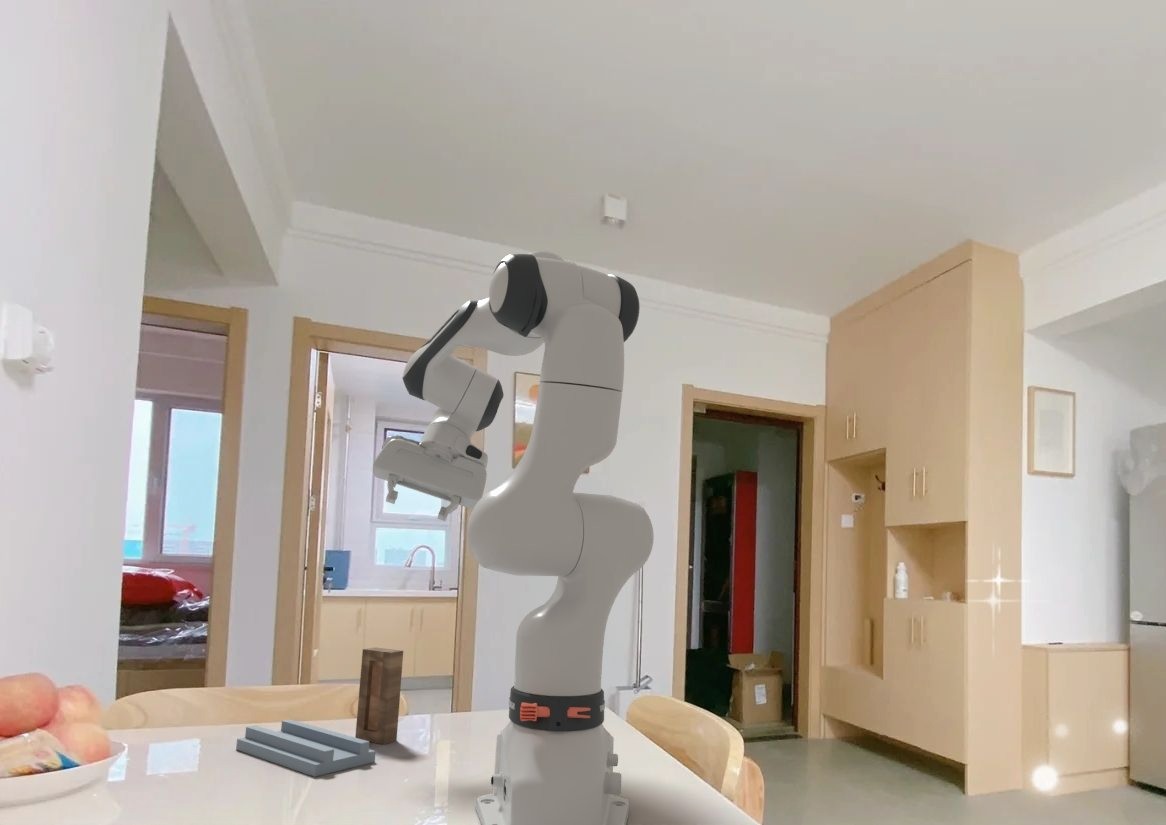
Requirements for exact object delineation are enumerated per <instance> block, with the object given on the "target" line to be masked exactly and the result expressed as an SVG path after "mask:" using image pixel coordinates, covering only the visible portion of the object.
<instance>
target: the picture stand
mask: <svg viewBox="0 0 1166 825" xmlns="http://www.w3.org/2000/svg"><path fill="white" fill-rule="evenodd" d="M235 750H236V751H238V752H242V753H245V754H248V755H251V756H254V757H257V758H259V759H263V760H264V761H269V762H270V763H274V764H277V765H280V766H282V767H286V768H287V769H291V770H293V771H297V772H300V773H303V774H305V775H308V776H311V777H314V778H315V777H319V776H323V775H327V774H332V773H336V772H340V771H343V770H347V769H348V770H349V769H351V768H356V767H360V766H365V765H368V764H372V763H375V762H376V750H373V749H370V742H369V741H366V740H362V739H358V738H355V736H351V735H347V734H345V733H340V732H337V731H334V730H330V729H326V728H323V727H318V726H315V725H311V724H308V723H304V722H301V721H298V720H294V719H284V720H282V721H281V727H280V730H278V731H275V730H272V729H268V728H265V727H262V726H260V725H259V726H258V725H250V726H246V727H245V735H244V737H240V738H237V740H236V747H235Z"/></svg>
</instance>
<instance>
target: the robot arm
mask: <svg viewBox="0 0 1166 825" xmlns="http://www.w3.org/2000/svg"><path fill="white" fill-rule="evenodd" d="M639 316H640V299H639V296H638V293H637V290H636V288H635V287H634V285H633V284H632V283H630V282H629V281H627V280H626V279H624V278H622V277H619V276H618V275H615V274H606V273H604V272H602V271H598V270H596V269H592V268H589V267H585V266H582V265H580V264H579V265H578V264H577V263H575V262H571V261H567V260H564V259H563V258H562V257H561V256H560V255H557V254H556V253H553V252H551V251H546V250H535V251H531V252H529V253H512V254H508V255H506V256H505V257H504V258H503V259H501V261H499V263H498V264H497V265H496V267H495V269H494V270H493V274H492V277H491V279H490V282H489V287H488V297H486V298H485V299H480V300H468V301H466V302H465V303H464V304H462V305H461V306H460V307H459V308H458V309H457V310H456V311H455V312H454V313H452V315H451V316H450V317H449V318H448V319H447V320H446V321H445V322H444V323H443V325H442V326H441V327H439V329H438V330H437V331H436V332H435V333H434V334H433V335H432V337H430V339H429V340H428V341H427V342H425V343H424V344H423V345H422V346H420V348H419V349H417V350H416V351H415V352H414V353H413V354H412V355H411V357H410V358H409V359H408V360H407V363H406V365H405V367H404V369H403V373H402V381H403V383H404V387H405V388H406V391H407V392H408V394H409V396H412V397H415V398H417V399H420V400H422V401H426V402H429V403H430V404H433V405H434V406H436V407H435V410H434V411H433V414H432V421H431V422H430V423H429V424H428V425H427V427H426V429H425V431H424V433H423V435H422V436H421V439H420V441H417V440H415V439H412V438H406V437H404V436H402V435H398V434H396V435H395V436H394V435H391V436H388V437H386V439H385V440H384V442H383V443H382V445H381V450H380V451H379V453H378V455H377V456H376V458H375V459H374V461H373V464H372V465H373V467H372V472H373V474H374V475H373V476H374V477H376V478H377V479H380V480H384V481H386V482H387V491H388V493H387V495H386V498H385V502H386V503H390V504H393V505H394V504H395V503H396V500H397V499H398V494H399V492H398V491H396V490H395V488H396V486H397V485H399V486H402V487H404V488H408V489H411V490H413V491H417V492H419V493H423V494H426V495H428V496H432V497H434V498H437V499H441V500H444V501H446V502H449V503H450V504H449V505H448V506H446V507H445V506H441V507H440V509H439V511H438V514H437V519H438V520H440V521H443V522H446V521H447V519H448V516H449V515H450V514H452V513H453V512H454V511H456V510H458V508H459V506H461V507H465V508H467V509H471V510H472V511H471V513H470V515H469V518H468V522H467V529H466V530H467V531H466V534H467V535H466V537H467V543H468V545H469V549H470V551H471V554H472V556H473V558H474V559H475V561H476V562H477V563H478V564H479V565H480V567H482V568H483V569H487V570H491V571H495V572H498V573H502V574H503V573H504V574H507V575H512V576H517V577H518V576H521V577H522V576H523V577H524V576H525V577H528V576H529V577H531V576H532V577H557V581H556V585H555V588H554V590H553V592H552V595H551V596H550V597H549V599H548V600H547V601H546V602H544V604H542V605H539V606H538V607H536V608H535V609H533V610H531V611H530V612H529V613H528V614H526V615H525V616H524V617H523V619H522V620H521V621H520V624H519V625H518V628H517V630H516V638H515V639H516V641H515V659H514V679H513V680H514V681H513V685H512V687H511V688H510V692H509V693H510V694H509V698H508V718H509V722H508V723H507V725H506V726H505V727H504V728H503V729H502V730H500V732H499V733H497V734H496V742H495V743H496V744H495V756H494V758H495V759H494V771H493V774H492V776H491V778H490V784H491V786H492V793H487V794H483V795H482V794H481V795H480V796H478V797H477V798H476V804H475V809H476V814H477V815H478V819H479V820H480V824H481V825H627V822H628V818H629V813H630V804H629V803H630V802H629V800H628V799H626V798H624V797H621V796H619V795H621V793H622V773H620V772H614V767H618V764H619V755H618V754H617V753H614V741H615V740H614V739H615V738H614V736H613V735H611V733H610V732H609V731H608V730H607V729H606V727H605V726H604V724H603V723H604V722H605V709H606V700H605V691H604V690H603V688H602V675H603V674H602V669H603V654H604V642H605V636H606V635H605V633H606V628H607V623H608V619H609V616H610V614H611V610H612V607H613V606H614V603H615V602H616V599H617V597H618V595H619V593H620V592H621V590H622V588H623V587H624V586H625V585H626V583H627V582H628V580H629V579H630V578H631V577H632V576H634V575H635V574H636V572H638V571H640V570H641V569H642V568H643V567H644V566H645V564H646V563H647V561H648V559H649V558H650V556H651V553H652V550H653V546H654V540H655V539H654V537H655V536H654V527H653V524H652V520H651V519H650V516H649V514H648V512H647V511H646V509H645V508H644V507H643V506H642V505H640V504H638V503H636V502H633V501H629V500H626V499H624V498H620V497H616V496H613V495H607V494H597V493H596V494H595V493H582V492H574V489H575V486H576V484H577V482H578V480H579V478H580V477H581V476H582V474H583V473H584V472H585V471H586V470H587V469H588V468H589V467H590V468H591V466H594V465H596V464H598V463H601V462H602V461H604V460H605V459H607V458H608V457H609V456H610V455H611V454H612V453H613V451H614V449H615V448H616V445H617V442H618V433H619V432H618V431H619V425H620V423H619V422H620V415H621V408H622V399H623V398H622V397H623V390H624V380H625V379H624V377H625V342H626V341H627V340H628V339H629V338H630V337H631V335H632V334H633V333H634V331H635V329H636V327H637V324H638V321H639ZM542 345H544V353H543V358H542V359H543V360H542V363H541V367H540V368H541V369H540V376H539V384H538V392H537V400H536V407H535V413H534V417H533V422H532V428H531V434H530V437H529V441H528V444H527V446H526V449H525V451H524V453H523V454H522V456H521V458H520V460H519V462H518V464H517V465H516V466H515V468H514V469H513V470H512V471H511V473H510V474H509V475H508V476H507V477H506V478H505V479H504V480H503V481H502V482H501V483H500V484H498V485H497V486H496V487H494V488H493V489H492V490H490V491H488V492H487V493H485V492H484V491H485V488H486V483H487V477H488V476H487V475H488V474H487V466H488V460H489V459H488V458H489V455H488V454H487V453H486V452H484V451H483V450H482V449H480V448H478V447H477V446H475V444H473V443H472V442H471V440H472V437H473V436H474V435H475V433H476V432H479V431H483V430H484V429H486V428H488V427H489V426H491V424H492V423H493V422H494V420H495V418H496V416H497V413H498V410H499V407H500V404H501V403H502V401H503V398H504V390H503V386H502V383H501V381H500V380H499V379H498V378H496V377H495V376H493V375H491V374H489V373H488V372H486V371H484V370H482V369H480V368H478V367H476V366H474V365H471V364H470V363H468V362H466V361H464V360H462V359H461V358H458V357H456V356H454V355H453V354H452V353H454V351H456V350H457V348H459V347H463V346H464V347H466V346H467V347H472V348H473V347H475V348H477V349H478V348H479V349H483V350H486V351H490V352H494V353H496V354H500V355H502V356H503V355H504V356H509V357H518V356H519V357H520V356H524V355H525V356H526V355H529V354H531V353H533V352H535V351H536V350H538V349H539V348H540V347H541V346H542ZM484 493H485V494H484Z"/></svg>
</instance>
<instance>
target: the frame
mask: <svg viewBox="0 0 1166 825" xmlns="http://www.w3.org/2000/svg"><path fill="white" fill-rule="evenodd" d="M403 660H404V650H401V649H400V650H399V649H391V648H385V647H383V648H382V647H371V648H370V647H369V648H363V649H362V655H361V665H360V666H361V668H360V677H359V678H360V680H359V689H358V703H357V713H356V724H355V725H356V726H355V736H354V737H355V738H358V739H362V740H366V741H371V742H370V743H372V742H374V743H373V744H378V743H380V744H379V745H383V744H384V745H387V744H391V743H394V742H397V739H398V738H397V737H398V726H399V712H400V700H401V688H402V687H401V686H402V675H403V674H402V672H403Z"/></svg>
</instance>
